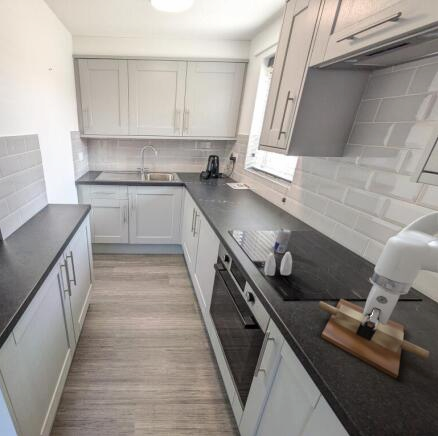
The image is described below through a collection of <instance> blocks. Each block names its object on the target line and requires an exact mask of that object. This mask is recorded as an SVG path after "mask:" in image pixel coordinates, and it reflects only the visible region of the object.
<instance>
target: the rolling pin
mask: <svg viewBox="0 0 438 436" xmlns="http://www.w3.org/2000/svg"><path fill="white" fill-rule="evenodd" d="M317 309H320V310H323V311H324V312H327V313H329V314H330V315H331V316H332V315H334V316H336V317H335V320H334V322H336V323H338V324H340V325H342V326H344V327H346V328H348V329H350V330H352V331H354V332H357V330H358V328H359V326H360V324H361V323H363V320H364V318H365V316H364V315H363V314H362V313H359V312H357V311H355V310H353V309H351V308H348V307H346V306H344V305H341V307H340V309H337V308H336V307H335V306H333V305H331V304H329V303H327V302H324V301H323V300H320V301H319V303H318V305H317ZM367 321H369V318H367ZM404 337H405V332H404V331H403V332H401V331H399V330H397V329H395V328H393V327H390V326H388V325H382V324H381V323H380V322H379V323H378V325H377V327H376V331H375V333H374V335H373V337H372V339H371V341H373V342H375V343H377V344H379V345H381V346H383V347H385V348H387V349H389V350H391V351H393V352H395V353H396V352H397V350H398V348H399V347H400V348H401V350H404V351H407V352H408V353H410V354H412V355H414V356H416V357H419V358H421V359H422V360H427V359H428V358H429V356H430V351H429V350H427V349H425V348H422V347H420V346H418V345H416V344H414V343H412V342H410V341H408V340H405V339H404Z"/></svg>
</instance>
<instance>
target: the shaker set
mask: <svg viewBox="0 0 438 436" xmlns="http://www.w3.org/2000/svg"><path fill="white" fill-rule="evenodd" d="M276 265H277V264H276V258H275V255H274V253H269V254H268V256H267V257H266V260H265V262H264V270H263V273H264V276H270V277H271V276H275V275H276V274H275V273H276V267H277V266H276ZM292 269H293V258H292V254H291V251H286V252H285V253H284V255H283V257H282V258H281V261H280V269H279V273H280V275H281V276H285V277H286V276H290V275H291V274H292Z"/></svg>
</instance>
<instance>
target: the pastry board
mask: <svg viewBox="0 0 438 436" xmlns="http://www.w3.org/2000/svg"><path fill="white" fill-rule="evenodd" d="M341 305H344V306H346V307H348V308H351V309H353V310H355V311H357V312H359V313H362V314H363V312H364V308H365V307H361V306H359V305H357V304H354V303H352V302H350V301H347V300H345V299H343V298H340V299H339V301H338V303H337V304H336V307H335V308H337V309H340V307H341ZM335 317H336V316H334V315H332V314H331V316H330V317H329V319H328V322H327V323H326V325H325V327H324V329H323V331H322V333H321V335H320V337H321V338H322V339H324V340H325V341H328V342H329V343H330V344H333V345H335V346H336V347H338V348H340V349H341V350H344V351H345V352H347V353H349V354H351V355H353V357H356V358H358V359H359V360H362V361H363V362H365V363H367V364H369V365H371V366H372V367H374V368H376V369H378V370H379V371H381V372H383V373H384V374H387V375H388V376H390V377H391V378H394V379H397V378H398V376H399V370H400V364H401V363H400V362H401V356H402V355H401V353H402V348H400V347H399V348H398V350H397V352H396V353H395V352H393V351H391V350H389V349H387V348H385V347H383V346H381V345H379V344H377V343H375V342H373V341H368V340H366V339H364V338H362V337H360V336H358V335H357V334H356V332H354V331H352V330H350V329H348V328H346V327H344V326H342V325H340V324H338V323H336V322H334V320H335ZM379 322H380V321H379ZM386 325H388V326H390V327H393V328H395V329H397V330H399V331H401V332H404V331H405V326H404V325H402V324H401V323H398V322H396V321H394V320H391V319H390V318H389V319H388V321H387V323H386Z"/></svg>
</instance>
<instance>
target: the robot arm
mask: <svg viewBox="0 0 438 436" xmlns="http://www.w3.org/2000/svg"><path fill="white" fill-rule="evenodd" d="M436 234H438V210H437V211H434V212H429V213H426V214H425V215H422V216H420V217H418V218H417V219H415V220H414V221H412V222H411V223H410V224H408V225H406V226H405V227H404V228H402V229H401V230H400V231H399V232H398V233H397V234H396V235H395V236H394V235H393V236H391V237H390V238H388V240H387V241H386V242H385V245H384V248H383V249H382V251H381V253H380V256H379V258H378V261H377V262H376V264H375V267H374V269H373V271H372V273H371V275H370V277H369V281H370V283H371V284H372V286H371V289H370V291H369V293H368V295H367V298H366V302H365V305H364V307H363V308H364V312H363V315H364V316H365V318H364V320H363V323H361V324H360V326H359V328H358V330H357V332H356V334H357V335H358V336H360V337H362V338H364V339H366V340H368V341H371V339H372V337H373V335H374V333H375V331H376V327H377V325H378V323H379V321H380V323H381V324H382V325H386V323H387V321H388V319H389V320H390V317H391V315H392V313H393V312H394V310H395V307H396V305H397V303H398V301H399V299H400V296H401V295H407V294H408V293H409V291H410V289H411V287H412V286H413V285H414V283H415V281H416V279H417V277H418V275H419V273H420V272H421V271H426V272H427V271H428V272H431V273H437V274H438V237H437V236H434V235H436ZM367 318H369V321H367Z"/></svg>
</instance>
